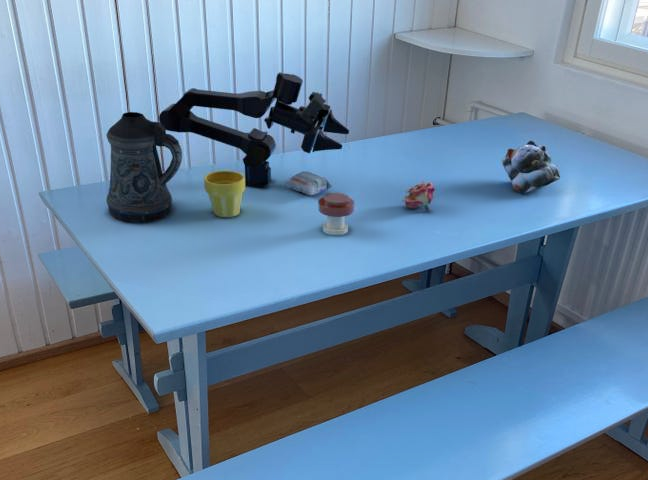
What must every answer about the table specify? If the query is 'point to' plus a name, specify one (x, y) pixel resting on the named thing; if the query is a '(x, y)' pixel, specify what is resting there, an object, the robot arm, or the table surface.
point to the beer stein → (140, 169)
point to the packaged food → (308, 183)
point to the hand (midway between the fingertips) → (345, 139)
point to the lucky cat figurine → (530, 167)
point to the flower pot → (225, 191)
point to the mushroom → (335, 212)
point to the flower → (419, 196)
